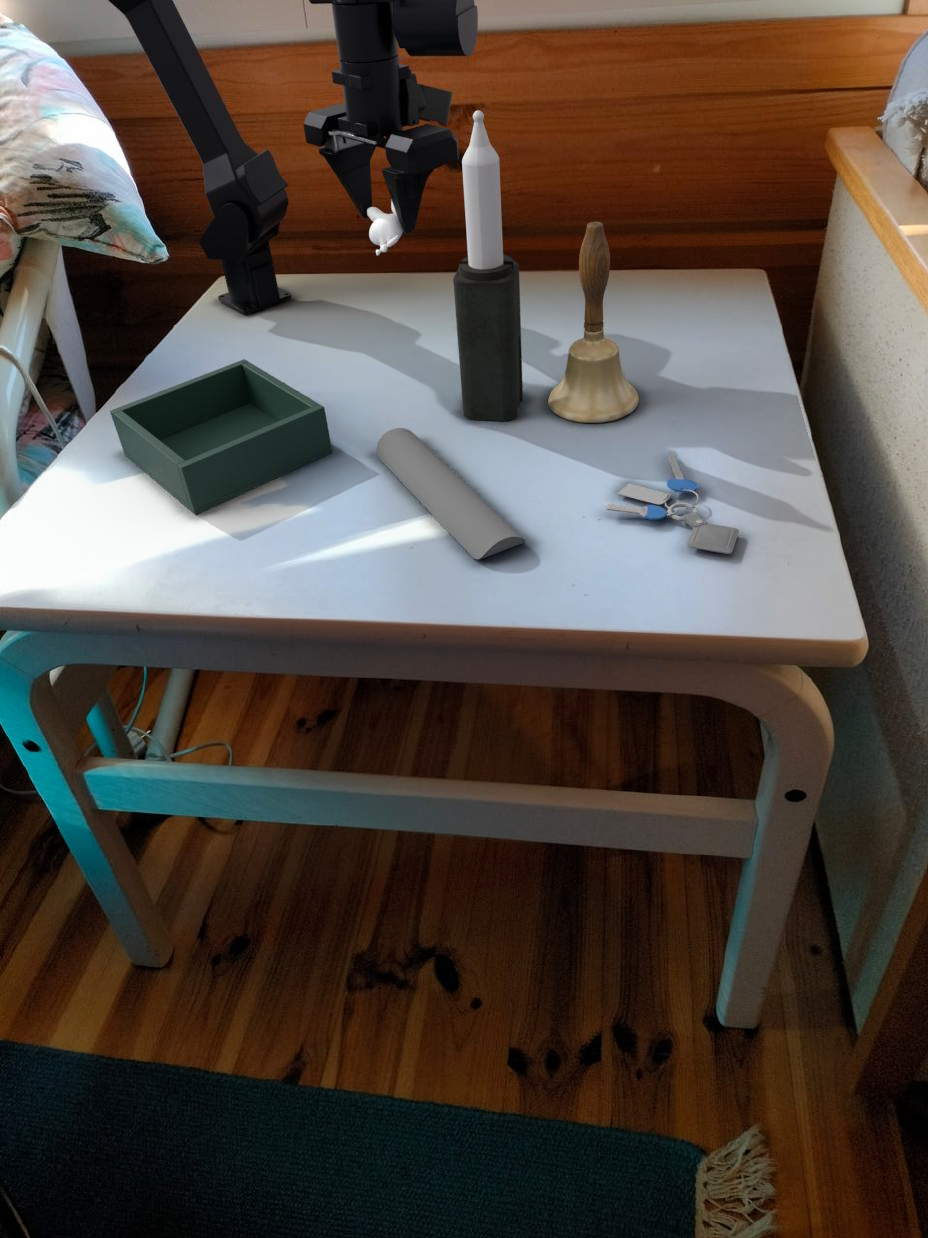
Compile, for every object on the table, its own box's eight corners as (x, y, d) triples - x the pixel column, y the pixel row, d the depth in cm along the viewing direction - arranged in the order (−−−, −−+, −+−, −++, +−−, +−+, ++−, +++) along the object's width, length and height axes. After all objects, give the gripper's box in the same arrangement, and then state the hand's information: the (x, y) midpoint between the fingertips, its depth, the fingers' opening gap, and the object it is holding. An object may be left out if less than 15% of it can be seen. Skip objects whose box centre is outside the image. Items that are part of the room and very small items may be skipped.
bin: (124, 455, 87) (109, 410, 84) (254, 402, 93) (244, 358, 90) (195, 515, 79) (181, 467, 76) (332, 452, 85) (324, 406, 82)
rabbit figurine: (354, 257, 100) (357, 198, 103) (380, 277, 102) (383, 220, 105) (395, 229, 96) (397, 169, 99) (422, 251, 99) (423, 192, 102)
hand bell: (533, 414, 88) (529, 236, 77) (569, 374, 93) (570, 203, 83) (619, 430, 84) (627, 247, 74) (651, 389, 90) (663, 212, 80)
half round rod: (481, 567, 71) (479, 548, 70) (373, 453, 84) (370, 435, 83) (530, 548, 72) (530, 529, 71) (416, 439, 86) (414, 421, 84)
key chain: (753, 552, 70) (754, 543, 69) (647, 576, 69) (648, 566, 68) (672, 458, 80) (673, 449, 80) (579, 477, 79) (579, 468, 78)
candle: (516, 421, 87) (505, 118, 71) (461, 419, 88) (438, 119, 72) (524, 394, 91) (516, 101, 74) (471, 393, 92) (452, 102, 75)
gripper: (497, 50, 90) (503, 222, 100) (378, 32, 101) (395, 188, 111) (402, 74, 84) (419, 253, 95) (288, 52, 96) (314, 213, 106)
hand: (387, 224), depth 102 cm, fingers closed on rabbit figurine, 7 cm apart
